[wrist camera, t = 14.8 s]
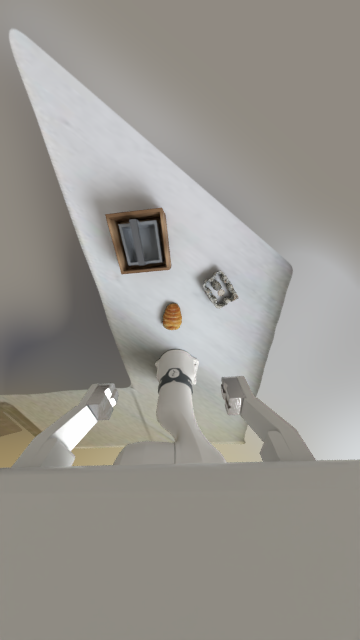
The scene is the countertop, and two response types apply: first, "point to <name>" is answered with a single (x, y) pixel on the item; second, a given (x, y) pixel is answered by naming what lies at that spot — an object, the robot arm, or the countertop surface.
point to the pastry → (172, 317)
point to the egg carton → (221, 292)
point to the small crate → (142, 242)
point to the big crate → (118, 243)
